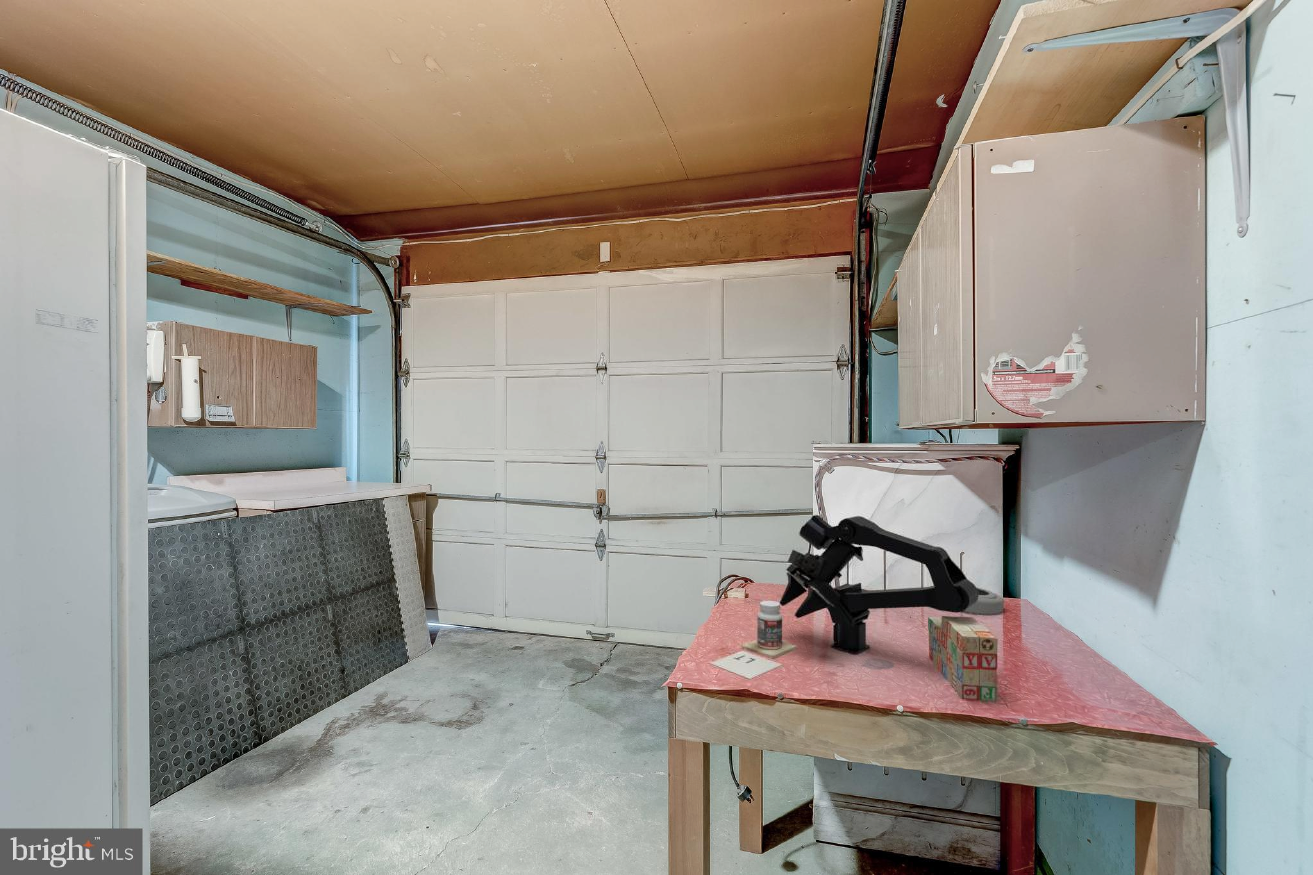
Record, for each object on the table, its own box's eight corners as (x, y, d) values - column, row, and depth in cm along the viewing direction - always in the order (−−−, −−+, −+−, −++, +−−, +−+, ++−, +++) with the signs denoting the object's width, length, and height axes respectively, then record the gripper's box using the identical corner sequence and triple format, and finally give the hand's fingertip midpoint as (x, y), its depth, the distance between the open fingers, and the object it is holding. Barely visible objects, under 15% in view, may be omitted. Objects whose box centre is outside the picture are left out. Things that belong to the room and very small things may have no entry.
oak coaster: (796, 648, 134) (796, 646, 134) (773, 658, 128) (773, 655, 128) (765, 638, 140) (765, 636, 140) (741, 647, 134) (741, 645, 134)
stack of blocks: (928, 657, 129) (927, 602, 129) (957, 659, 127) (957, 604, 128) (962, 700, 107) (961, 634, 108) (998, 703, 106) (998, 636, 106)
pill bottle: (768, 651, 130) (768, 608, 130) (752, 644, 135) (752, 602, 135) (787, 647, 133) (787, 604, 133) (770, 639, 138) (770, 598, 138)
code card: (782, 665, 124) (782, 664, 124) (749, 679, 117) (749, 678, 117) (742, 651, 132) (742, 650, 132) (710, 663, 125) (710, 663, 125)
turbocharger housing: (997, 624, 156) (1006, 611, 168) (999, 600, 156) (1008, 589, 167) (930, 608, 167) (943, 597, 178) (932, 585, 167) (945, 576, 178)
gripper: (793, 531, 144) (751, 577, 143) (827, 546, 126) (779, 599, 124) (823, 561, 146) (782, 607, 144) (860, 580, 127) (814, 633, 126)
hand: (788, 610), depth 134 cm, fingers open, 9 cm apart
